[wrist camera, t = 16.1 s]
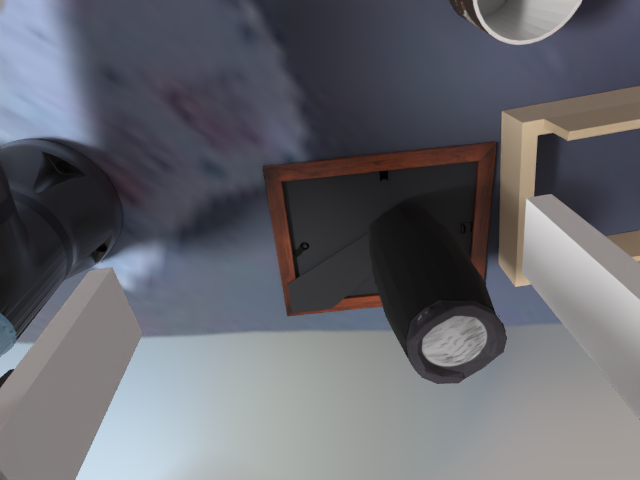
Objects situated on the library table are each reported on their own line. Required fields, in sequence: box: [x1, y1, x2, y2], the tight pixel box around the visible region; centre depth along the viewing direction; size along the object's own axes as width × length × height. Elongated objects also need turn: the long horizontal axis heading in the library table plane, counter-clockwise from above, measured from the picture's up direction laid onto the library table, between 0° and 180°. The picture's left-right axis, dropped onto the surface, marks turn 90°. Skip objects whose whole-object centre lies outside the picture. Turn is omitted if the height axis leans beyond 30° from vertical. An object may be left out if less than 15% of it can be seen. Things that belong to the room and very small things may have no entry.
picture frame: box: [263, 142, 497, 316], centre depth 54 cm, size 20×2×25 cm
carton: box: [499, 86, 640, 287], centre depth 47 cm, size 19×19×10 cm
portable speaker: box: [368, 203, 507, 384], centre depth 44 cm, size 9×9×20 cm
